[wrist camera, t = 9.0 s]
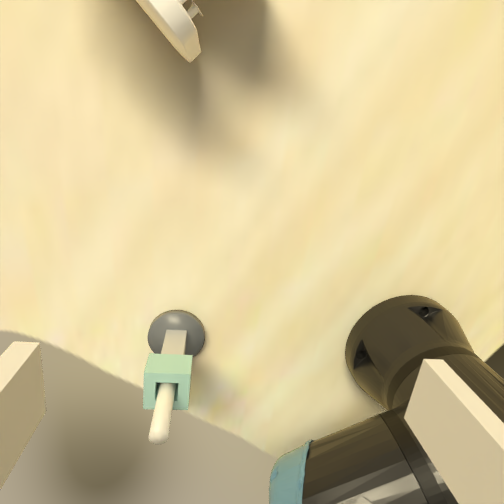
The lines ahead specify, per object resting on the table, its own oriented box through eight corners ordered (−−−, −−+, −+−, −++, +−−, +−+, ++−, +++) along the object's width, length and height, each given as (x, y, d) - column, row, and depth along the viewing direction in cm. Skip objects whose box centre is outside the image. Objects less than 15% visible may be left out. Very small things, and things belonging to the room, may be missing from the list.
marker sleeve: (192, 355, 37) (190, 374, 34) (190, 388, 39) (188, 409, 36) (149, 353, 36) (143, 372, 34) (148, 387, 38) (143, 408, 35)
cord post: (206, 311, 44) (202, 406, 29) (202, 357, 46) (196, 466, 31) (149, 308, 43) (116, 404, 28) (148, 355, 45) (116, 467, 30)
